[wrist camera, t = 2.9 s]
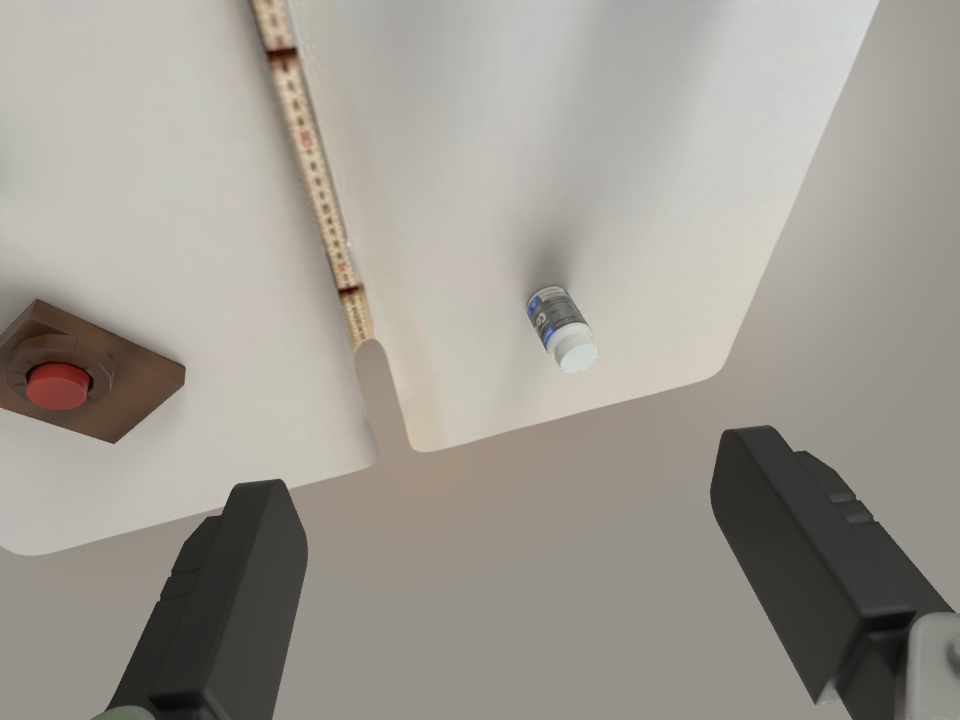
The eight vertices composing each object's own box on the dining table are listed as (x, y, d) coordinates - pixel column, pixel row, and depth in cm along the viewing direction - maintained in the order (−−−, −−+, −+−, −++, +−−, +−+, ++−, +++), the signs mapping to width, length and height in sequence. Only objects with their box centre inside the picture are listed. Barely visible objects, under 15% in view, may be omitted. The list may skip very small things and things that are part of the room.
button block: (-37, 372, 43) (-54, 411, 41) (38, 296, 41) (25, 331, 38) (117, 426, 52) (111, 460, 49) (187, 365, 49) (185, 398, 47)
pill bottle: (523, 293, 55) (555, 350, 50) (567, 279, 56) (603, 334, 50) (527, 325, 59) (557, 382, 53) (568, 312, 59) (602, 367, 54)
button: (21, 380, 41) (15, 398, 40) (49, 353, 40) (43, 370, 39) (72, 399, 44) (68, 416, 43) (100, 374, 43) (96, 390, 42)
